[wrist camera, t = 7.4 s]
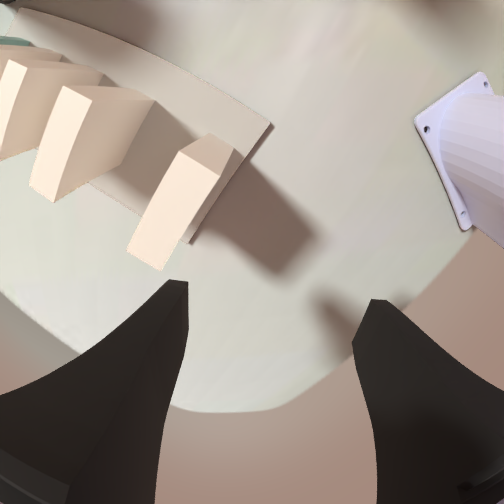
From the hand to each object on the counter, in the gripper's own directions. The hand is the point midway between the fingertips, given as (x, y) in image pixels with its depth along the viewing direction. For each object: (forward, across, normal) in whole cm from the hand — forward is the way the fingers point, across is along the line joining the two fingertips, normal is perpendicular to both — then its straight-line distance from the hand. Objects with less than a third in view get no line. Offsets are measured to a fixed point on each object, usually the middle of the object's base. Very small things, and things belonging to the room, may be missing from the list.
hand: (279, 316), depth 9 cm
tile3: (+9, +12, -6) cm, 17 cm away
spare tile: (+9, +4, -2) cm, 10 cm away
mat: (+9, +12, -6) cm, 17 cm away
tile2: (+9, +9, -5) cm, 14 cm away
